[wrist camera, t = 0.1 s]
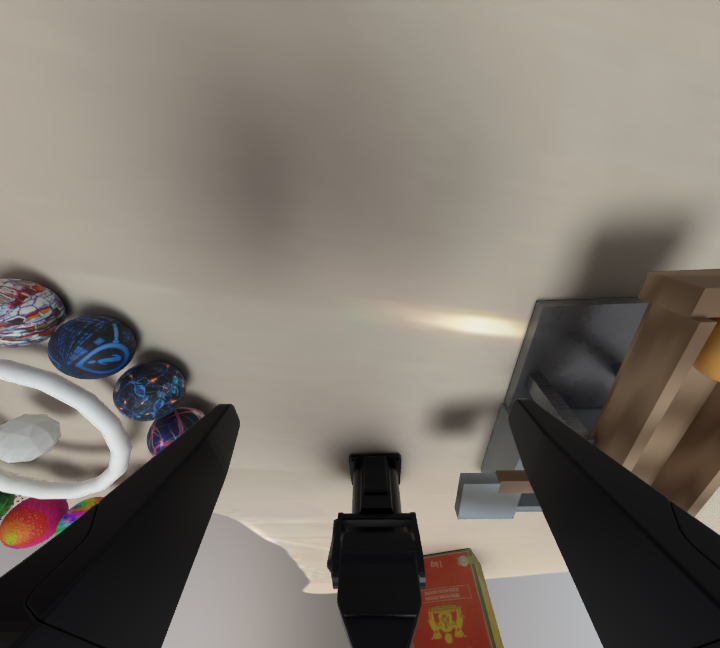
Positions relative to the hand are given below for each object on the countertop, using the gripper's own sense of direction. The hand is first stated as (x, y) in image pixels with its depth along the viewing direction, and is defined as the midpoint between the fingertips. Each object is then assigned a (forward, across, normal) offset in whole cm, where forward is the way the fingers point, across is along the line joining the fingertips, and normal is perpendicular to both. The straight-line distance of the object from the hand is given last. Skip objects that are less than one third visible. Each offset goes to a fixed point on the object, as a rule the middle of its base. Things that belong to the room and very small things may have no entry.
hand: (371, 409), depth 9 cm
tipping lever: (+8, -16, +11) cm, 21 cm away
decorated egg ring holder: (+15, +34, +15) cm, 40 cm away
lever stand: (+15, -20, +10) cm, 27 cm away
